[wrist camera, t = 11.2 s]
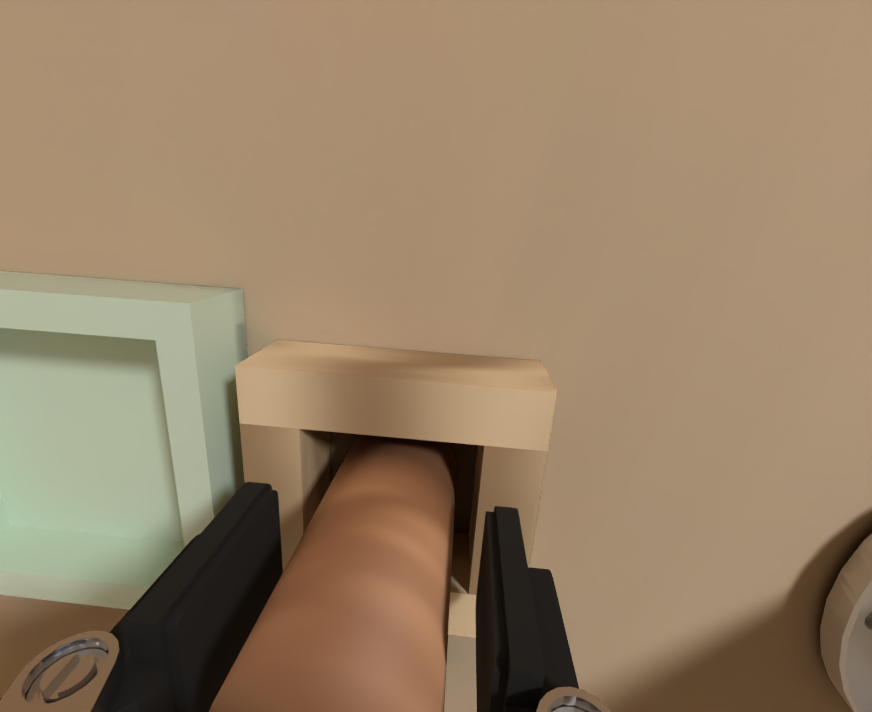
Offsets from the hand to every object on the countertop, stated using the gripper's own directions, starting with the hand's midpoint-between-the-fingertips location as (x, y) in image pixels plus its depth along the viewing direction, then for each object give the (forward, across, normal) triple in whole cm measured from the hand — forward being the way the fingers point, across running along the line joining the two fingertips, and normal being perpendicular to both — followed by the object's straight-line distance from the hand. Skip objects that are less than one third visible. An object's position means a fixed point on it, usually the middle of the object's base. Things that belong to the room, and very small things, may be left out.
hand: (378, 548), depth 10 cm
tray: (+4, +10, 0) cm, 11 cm away
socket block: (+4, 0, 0) cm, 4 cm away
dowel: (+4, 0, 0) cm, 4 cm away
